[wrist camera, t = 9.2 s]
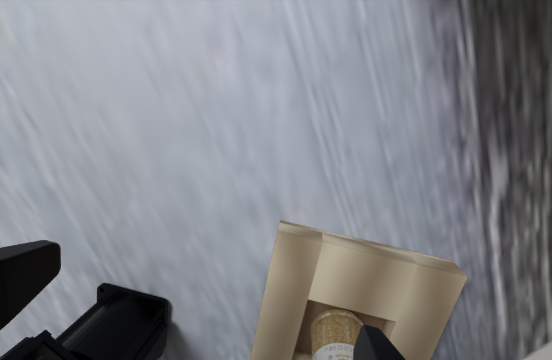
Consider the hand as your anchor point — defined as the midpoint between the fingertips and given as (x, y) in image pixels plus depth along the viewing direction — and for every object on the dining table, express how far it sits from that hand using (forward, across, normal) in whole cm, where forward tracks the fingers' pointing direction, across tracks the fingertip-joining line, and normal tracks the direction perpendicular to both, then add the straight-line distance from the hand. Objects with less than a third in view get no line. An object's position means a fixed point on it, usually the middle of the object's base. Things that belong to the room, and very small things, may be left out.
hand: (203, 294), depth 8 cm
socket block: (+13, -8, +11) cm, 19 cm away
